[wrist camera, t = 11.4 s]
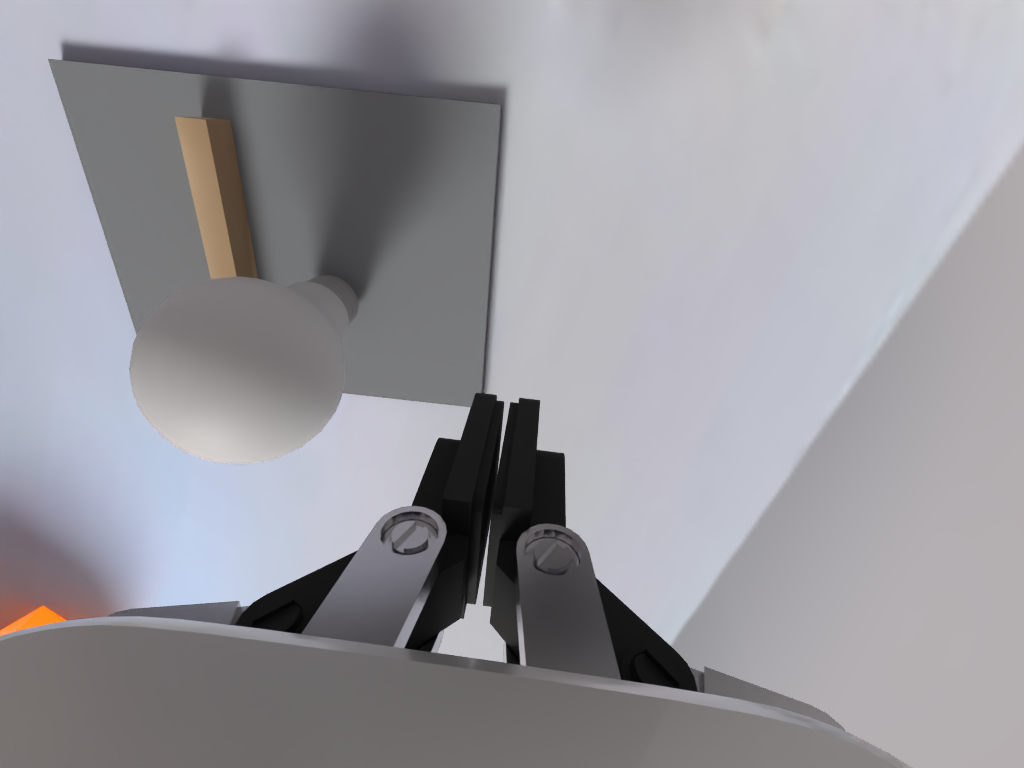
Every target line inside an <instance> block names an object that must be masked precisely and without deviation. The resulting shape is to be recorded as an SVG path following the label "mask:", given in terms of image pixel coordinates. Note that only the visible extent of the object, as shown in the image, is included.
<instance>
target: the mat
mask: <svg viewBox="0 0 1024 768" xmlns="http://www.w3.org/2000/svg"><path fill="white" fill-rule="evenodd" d="M48 60H49V63H50V67H51V70H52V73H53V76H54V79H55V82H56V85H57V88H58V91H59V95H60V98H61V101H62V104H63V107H64V110H65V113H66V116H67V119H68V123H69V126H70V129H71V132H72V135H73V138H74V141H75V144H76V147H77V151H78V154H79V157H80V160H81V163H82V166H83V169H84V172H85V175H86V179H87V182H88V185H89V188H90V191H91V194H92V197H93V200H94V203H95V207H96V210H97V213H98V216H99V219H100V222H101V225H102V228H103V231H104V234H105V238H106V241H107V244H108V247H109V250H110V253H111V256H112V259H113V262H114V266H115V269H116V272H117V275H118V278H119V281H120V284H121V287H122V290H123V294H124V297H125V300H126V303H127V306H128V309H129V312H130V315H131V318H132V322H133V325H134V328H135V331H136V334H138V331H139V330H140V328H141V326H142V325H143V323H144V322H145V320H146V319H147V318H148V317H149V315H150V314H151V313H152V312H153V311H154V310H155V308H156V307H158V306H159V305H160V304H161V303H162V302H163V301H164V300H165V299H167V298H168V297H170V296H171V295H173V294H174V293H176V292H177V291H179V290H181V289H183V288H185V287H188V286H190V285H192V284H195V283H198V282H202V281H205V280H208V279H211V277H210V272H209V268H208V264H207V259H206V255H205V250H204V246H203V241H202V237H201V232H200V228H199V224H198V219H197V215H196V210H195V206H194V201H193V197H192V192H191V188H190V184H189V179H188V175H187V170H186V166H185V161H184V157H183V152H182V148H181V143H180V139H179V135H178V130H177V126H176V121H175V117H204V118H214V119H224V120H230V121H231V127H232V132H233V138H234V144H235V149H236V155H237V161H238V167H239V172H240V178H241V184H242V189H243V195H244V201H245V206H246V212H247V218H248V224H249V229H250V235H251V241H252V246H253V252H254V258H255V264H256V269H257V275H258V279H261V280H264V281H268V282H272V283H275V284H278V285H282V286H288V285H290V284H292V283H296V282H303V281H308V280H310V279H312V278H315V277H318V276H321V275H332V276H336V277H338V278H340V279H342V280H344V281H345V282H347V283H348V284H349V285H350V286H351V287H352V289H353V290H354V292H355V294H356V296H357V299H358V312H357V315H356V317H355V318H354V319H353V321H352V323H351V324H350V325H349V327H348V332H347V335H346V337H345V339H344V340H343V342H342V343H341V347H342V350H343V356H344V363H345V374H346V375H345V382H344V389H343V392H342V393H347V394H356V395H365V396H374V397H383V398H393V399H402V400H411V401H420V402H429V403H438V404H447V405H457V406H466V407H471V406H472V403H473V399H474V396H475V394H476V393H482V390H483V375H484V360H485V346H486V331H487V316H488V301H489V287H490V272H491V257H492V242H493V227H494V213H495V198H496V183H497V168H498V154H499V139H500V124H501V109H502V105H497V104H487V103H477V102H467V101H458V100H448V99H438V98H428V97H418V96H408V95H398V94H389V93H379V92H369V91H359V90H349V89H339V88H330V87H320V86H310V85H300V84H290V83H280V82H271V81H261V80H251V79H241V78H231V77H221V76H211V75H202V74H192V73H182V72H172V71H162V70H152V69H143V68H133V67H123V66H113V65H103V64H93V63H84V62H74V61H64V60H54V59H48ZM174 116H175V117H174Z"/></svg>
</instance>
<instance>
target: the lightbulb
mask: <svg viewBox="0 0 1024 768" xmlns="http://www.w3.org/2000/svg"><path fill="white" fill-rule="evenodd" d="M357 312H358V299H357V296H356V294H355V292H354V290H353V289H352V287H351V286H350V285H349V284H348V283H347V282H345V281H344V280H342V279H340V278H338V277H336V276H332V275H321V276H318V277H315V278H312V279H310V280H308V281H303V282H296V283H292V284H290V285H288V286H282V285H278V284H275V283H272V282H268V281H264V280H261V279H257V278H249V277H229V278H218V279H208V280H205V281H202V282H198V283H195V284H192V285H190V286H188V287H185V288H183V289H181V290H179V291H177V292H176V293H174V294H173V295H171V296H170V297H168V298H167V299H165V300H164V301H163V302H162V303H161V304H160V305H159V306H158V307H156V308H155V310H154V311H153V312H152V313H151V314H150V315H149V317H148V318H147V319H146V320H145V322H144V323H143V325H142V326H141V328H140V330H139V331H138V334H137V336H136V338H135V341H134V343H133V348H132V354H131V361H130V368H129V369H130V378H131V385H132V391H133V394H134V397H135V400H136V403H137V405H138V407H139V409H140V411H141V412H142V414H143V416H144V417H145V419H146V420H147V421H148V422H149V424H150V425H151V426H152V427H153V428H154V429H155V430H156V431H157V432H158V433H159V434H160V435H161V436H162V437H163V438H165V439H166V440H167V441H169V442H170V443H171V444H173V445H174V446H176V447H177V448H179V449H181V450H183V451H185V452H186V453H189V454H191V455H193V456H196V457H198V458H201V459H205V460H209V461H213V462H221V463H231V464H249V463H257V462H264V461H268V460H272V459H276V458H279V457H281V456H283V455H286V454H288V453H290V452H292V451H294V450H296V449H298V448H300V447H302V446H303V445H304V444H306V443H307V442H308V441H310V440H311V439H312V438H313V437H315V436H316V435H317V434H318V433H320V432H321V431H322V429H323V428H324V427H325V425H326V424H327V423H328V421H329V420H330V419H331V417H332V416H333V415H334V413H335V412H336V409H337V407H338V404H339V402H340V399H341V396H342V392H343V389H344V382H345V375H346V374H345V363H344V356H343V350H342V347H341V343H342V342H343V340H344V339H345V337H346V335H347V332H348V327H349V325H350V324H351V323H352V321H353V319H354V318H355V317H356V315H357Z"/></svg>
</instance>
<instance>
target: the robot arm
mask: <svg viewBox="0 0 1024 768" xmlns="http://www.w3.org/2000/svg"><path fill="white" fill-rule="evenodd" d="M539 408H540V400H533V399H525V398H519V403H512V402H511V403H510V408H509V414H508V419H507V425H506V430H505V436H504V442H503V447H502V453H501V458H500V464H499V470H498V463H499V452H500V442H501V431H502V420H503V410H504V401H497V395H492V394H484V393H476V394H475V396H474V399H473V403H472V406H471V409H470V412H469V415H468V418H467V422H466V425H465V428H464V431H463V434H462V437H461V440H453V439H445V438H439V439H438V440H437V442H436V445H435V447H434V450H433V452H432V455H431V457H430V460H429V462H428V465H427V468H426V470H425V473H424V475H423V478H422V480H421V483H420V486H419V488H418V491H417V493H416V496H415V498H414V501H413V503H412V506H408V507H401V508H398V509H395V510H392V511H391V512H389V513H387V514H386V515H384V516H383V517H382V518H381V519H380V520H379V521H378V522H377V523H376V525H375V526H374V528H373V529H372V531H371V532H370V533H369V535H368V536H367V538H366V539H365V541H364V542H363V544H362V545H361V547H360V548H359V550H358V551H356V552H354V553H351V554H349V555H347V556H345V557H343V558H341V559H339V560H337V561H335V562H333V563H331V564H329V565H327V566H325V567H322V568H320V569H318V570H316V571H314V572H312V573H310V574H308V575H306V576H304V577H302V578H300V579H298V580H296V581H293V582H291V583H289V584H287V585H285V586H283V587H281V588H279V589H277V590H275V591H273V592H271V593H269V594H267V595H265V596H263V597H262V598H260V599H258V600H257V601H255V602H253V603H252V604H251V605H250V606H245V607H241V606H240V603H239V601H233V602H219V603H205V604H192V605H178V606H165V607H151V608H137V609H129V610H125V611H120V612H116V613H114V614H111V615H109V616H107V617H96V618H86V619H75V620H66V621H61V622H56V623H51V624H46V625H41V626H36V627H31V628H26V629H22V630H19V631H15V632H12V633H8V634H4V635H1V636H0V768H912V767H910V766H909V765H907V764H906V763H904V762H902V761H901V760H899V759H898V758H896V757H894V756H893V755H891V754H889V753H888V752H886V751H884V750H882V749H880V748H878V747H876V746H874V745H872V744H870V743H868V742H866V741H864V740H862V739H860V738H858V737H857V736H855V735H852V734H851V733H849V732H846V731H845V730H844V728H843V727H842V726H841V725H840V724H839V723H837V722H836V721H835V720H834V719H832V717H830V716H829V715H828V714H827V713H825V712H823V711H821V710H819V709H817V708H815V707H813V706H811V705H809V704H806V703H803V702H800V701H797V700H795V699H792V698H789V697H787V696H784V695H781V694H778V693H776V692H773V691H770V690H767V689H765V688H762V687H759V686H757V685H754V684H751V683H748V682H746V681H743V680H740V679H737V678H735V677H732V676H729V675H726V674H724V673H721V672H718V671H715V670H713V669H710V668H707V667H704V668H703V670H702V672H701V671H698V670H695V669H692V668H690V667H689V666H688V664H687V663H686V662H685V661H684V659H683V658H682V657H681V656H680V655H679V654H678V653H677V652H676V651H675V650H674V649H673V648H672V647H671V646H670V645H669V644H668V643H667V642H665V641H664V640H663V639H662V638H661V637H660V636H659V635H658V634H657V633H656V632H654V631H653V630H652V629H651V628H650V627H649V626H648V625H647V624H646V623H645V622H644V621H642V620H641V619H640V618H639V617H638V616H637V615H636V614H635V613H634V612H633V611H632V610H630V609H629V608H628V607H627V606H626V605H625V604H624V603H623V602H622V601H621V600H619V599H618V598H617V597H616V596H615V595H614V594H613V593H612V592H611V591H610V590H609V589H607V588H606V587H605V586H604V585H603V584H602V583H601V582H600V581H599V580H598V579H597V578H596V577H595V574H594V570H593V566H592V562H591V558H590V554H589V551H588V548H587V546H586V544H585V542H584V541H583V540H582V539H581V538H580V536H579V535H577V534H576V533H575V532H573V531H572V530H570V529H568V528H566V515H565V456H564V453H556V452H548V451H540V450H537V436H538V422H539ZM497 473H498V475H497ZM490 520H491V523H490ZM489 526H490V534H489V545H488V556H487V567H486V578H485V589H484V600H483V606H490V607H492V608H491V617H490V624H491V625H492V626H493V627H494V629H495V630H496V631H497V632H498V633H499V635H500V636H501V637H502V638H503V640H504V646H503V660H504V663H503V662H496V661H489V660H482V659H475V658H468V657H461V656H454V655H447V654H440V653H437V652H438V650H439V647H440V644H441V642H442V638H443V633H444V629H445V628H447V627H448V626H450V625H451V624H453V623H454V622H456V621H457V620H459V619H460V618H462V619H464V614H465V609H466V604H467V603H469V604H476V599H477V594H478V588H479V582H480V577H481V571H482V565H483V560H484V554H485V548H486V543H487V537H488V531H489Z"/></svg>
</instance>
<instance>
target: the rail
mask: <svg viewBox="0 0 1024 768" xmlns="http://www.w3.org/2000/svg"><path fill="white" fill-rule="evenodd" d="M174 117H175V116H174ZM175 121H176V126H177V130H178V135H179V139H180V143H181V148H182V152H183V157H184V161H185V166H186V170H187V175H188V179H189V184H190V188H191V192H192V197H193V201H194V206H195V210H196V215H197V219H198V224H199V228H200V232H201V237H202V241H203V246H204V250H205V255H206V259H207V264H208V268H209V272H210V277H211V279H218V278H229V277H249V278H257V279H258V275H257V269H256V264H255V258H254V252H253V246H252V241H251V235H250V229H249V224H248V218H247V212H246V206H245V201H244V195H243V189H242V184H241V178H240V172H239V167H238V161H237V155H236V149H235V144H234V138H233V132H232V127H231V121H230V120H224V119H214V118H204V117H175Z"/></svg>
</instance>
